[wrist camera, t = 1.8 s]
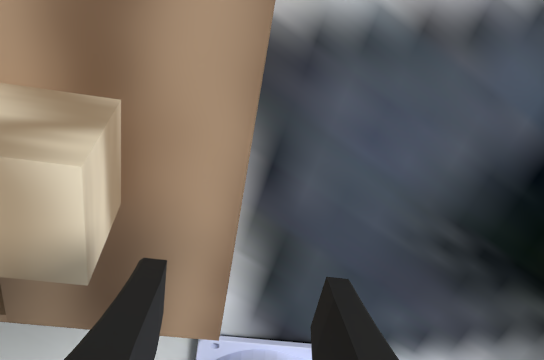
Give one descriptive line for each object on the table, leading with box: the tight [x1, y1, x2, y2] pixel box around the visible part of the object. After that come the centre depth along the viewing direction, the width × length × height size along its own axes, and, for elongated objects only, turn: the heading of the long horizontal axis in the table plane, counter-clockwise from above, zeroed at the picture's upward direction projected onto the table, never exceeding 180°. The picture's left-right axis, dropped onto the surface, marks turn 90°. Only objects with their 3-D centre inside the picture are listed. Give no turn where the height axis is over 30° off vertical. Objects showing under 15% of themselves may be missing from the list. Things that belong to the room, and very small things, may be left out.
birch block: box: [0, 83, 121, 286], centre depth 16 cm, size 4×4×4 cm
